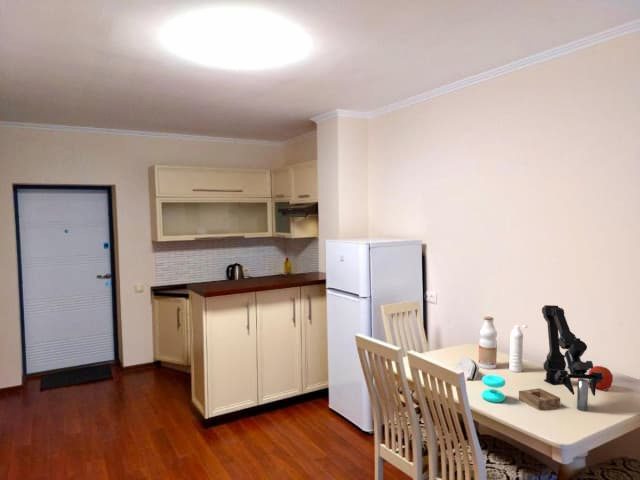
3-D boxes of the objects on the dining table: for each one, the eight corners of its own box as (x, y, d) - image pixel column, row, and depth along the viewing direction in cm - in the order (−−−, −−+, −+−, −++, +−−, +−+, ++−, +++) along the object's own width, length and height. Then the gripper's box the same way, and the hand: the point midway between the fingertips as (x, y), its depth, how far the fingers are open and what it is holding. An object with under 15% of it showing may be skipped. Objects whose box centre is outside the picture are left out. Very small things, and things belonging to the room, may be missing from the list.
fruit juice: (484, 370, 252) (486, 319, 250) (475, 364, 261) (476, 315, 259) (499, 368, 254) (501, 319, 252) (489, 363, 263) (491, 315, 261)
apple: (614, 388, 227) (615, 365, 226) (609, 393, 219) (610, 370, 219) (590, 382, 233) (591, 360, 233) (585, 388, 226) (586, 365, 225)
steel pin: (581, 407, 204) (582, 378, 203) (589, 410, 200) (590, 381, 199) (574, 408, 202) (575, 379, 202) (582, 411, 199) (583, 382, 198)
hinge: (453, 369, 251) (459, 352, 251) (460, 372, 252) (467, 355, 252) (466, 380, 235) (473, 362, 235) (474, 383, 235) (481, 365, 235)
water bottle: (511, 372, 248) (513, 326, 247) (507, 368, 255) (508, 324, 253) (528, 372, 248) (529, 327, 247) (523, 368, 254) (524, 324, 253)
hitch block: (539, 396, 215) (539, 388, 215) (560, 406, 204) (560, 398, 204) (518, 399, 212) (518, 390, 211) (538, 410, 200) (538, 401, 200)
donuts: (482, 373, 218) (505, 375, 214) (481, 393, 218) (504, 396, 215) (482, 380, 208) (505, 383, 205) (481, 401, 209) (505, 404, 206)
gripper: (558, 352, 205) (567, 385, 195) (602, 354, 203) (614, 388, 192) (550, 364, 213) (559, 396, 203) (593, 366, 211) (604, 399, 200)
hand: (584, 394), depth 199 cm, fingers open, 8 cm apart
